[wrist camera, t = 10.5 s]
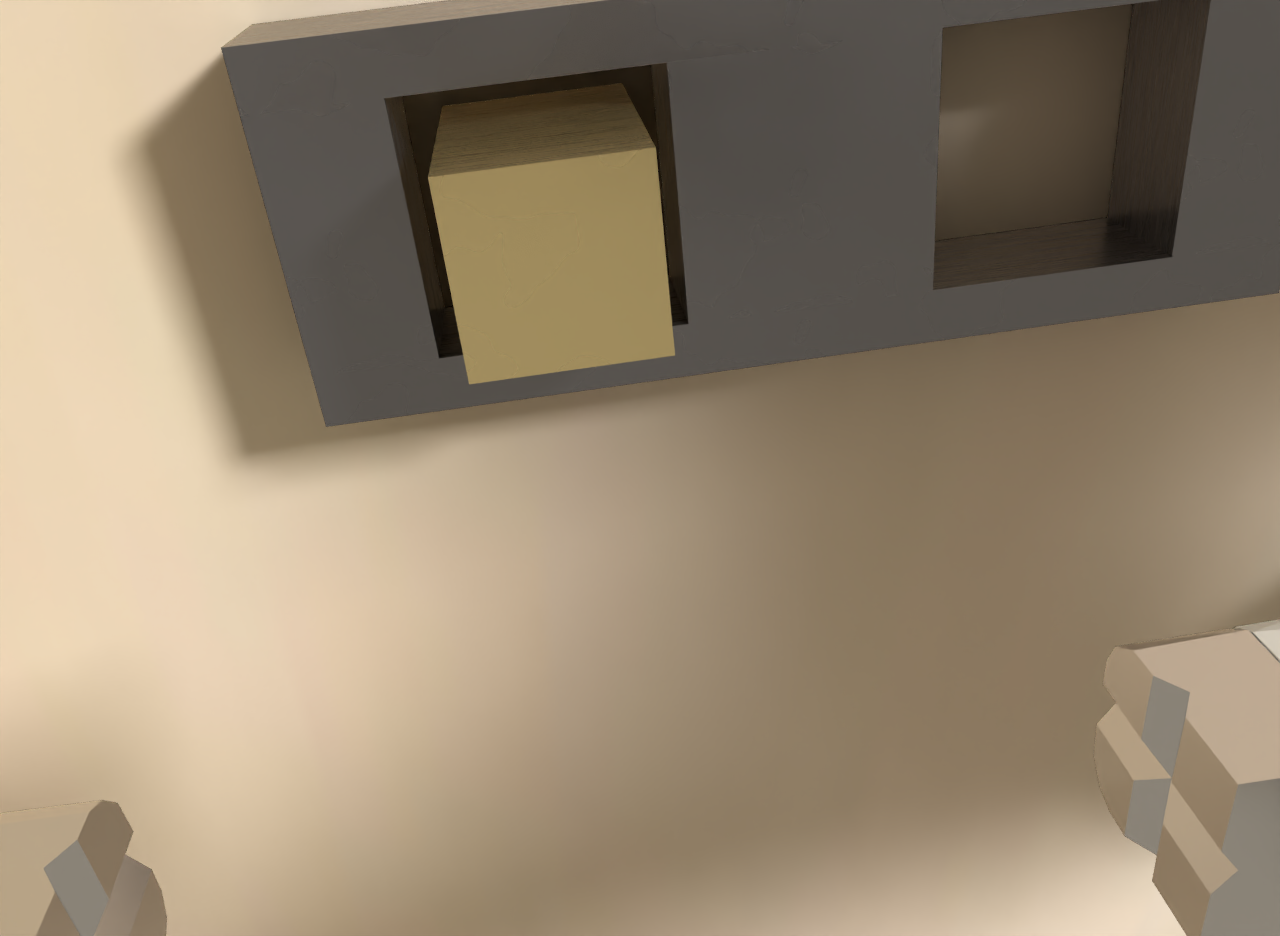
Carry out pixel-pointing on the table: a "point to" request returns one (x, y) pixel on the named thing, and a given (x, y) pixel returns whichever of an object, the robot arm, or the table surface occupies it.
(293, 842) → the table surface
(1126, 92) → the rail
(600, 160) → the block
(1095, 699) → the table surface
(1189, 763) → the robot arm
